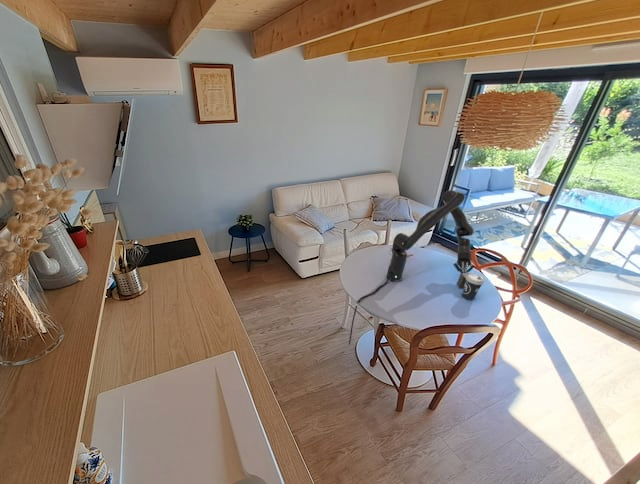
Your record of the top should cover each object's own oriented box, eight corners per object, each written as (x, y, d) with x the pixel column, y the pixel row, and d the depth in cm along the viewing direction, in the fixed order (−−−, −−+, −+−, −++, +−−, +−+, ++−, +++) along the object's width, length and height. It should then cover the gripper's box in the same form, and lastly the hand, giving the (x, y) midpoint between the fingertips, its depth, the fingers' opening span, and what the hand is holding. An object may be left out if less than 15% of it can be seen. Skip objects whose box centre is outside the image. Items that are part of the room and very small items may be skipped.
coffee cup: (470, 303, 175) (478, 283, 168) (456, 294, 183) (463, 275, 175) (479, 298, 179) (488, 279, 172) (465, 290, 186) (472, 271, 179)
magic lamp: (412, 264, 215) (415, 252, 209) (387, 262, 218) (390, 249, 213) (410, 260, 221) (414, 247, 215) (386, 257, 224) (389, 245, 219)
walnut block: (457, 283, 194) (461, 272, 189) (466, 284, 192) (471, 273, 188) (459, 288, 189) (463, 277, 184) (469, 289, 187) (474, 278, 183)
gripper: (455, 250, 194) (454, 275, 189) (477, 253, 191) (477, 278, 186) (451, 253, 201) (450, 277, 197) (472, 256, 198) (472, 280, 193)
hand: (463, 277), depth 191 cm, fingers closed
